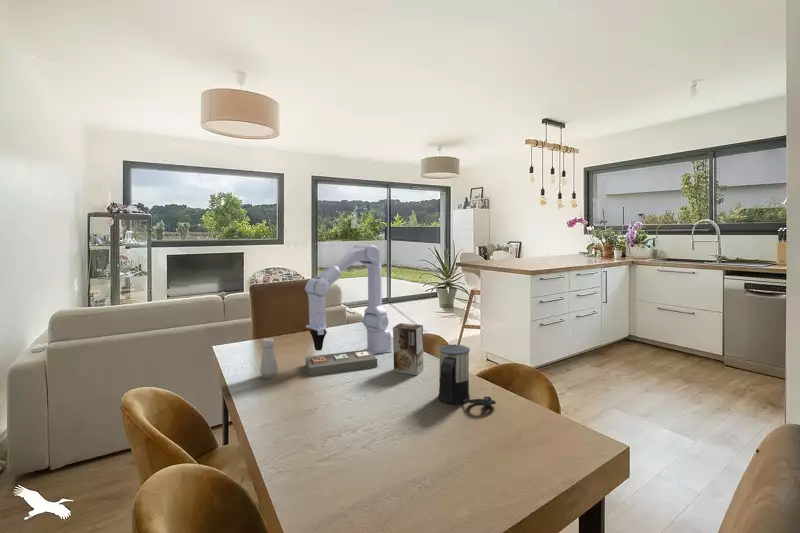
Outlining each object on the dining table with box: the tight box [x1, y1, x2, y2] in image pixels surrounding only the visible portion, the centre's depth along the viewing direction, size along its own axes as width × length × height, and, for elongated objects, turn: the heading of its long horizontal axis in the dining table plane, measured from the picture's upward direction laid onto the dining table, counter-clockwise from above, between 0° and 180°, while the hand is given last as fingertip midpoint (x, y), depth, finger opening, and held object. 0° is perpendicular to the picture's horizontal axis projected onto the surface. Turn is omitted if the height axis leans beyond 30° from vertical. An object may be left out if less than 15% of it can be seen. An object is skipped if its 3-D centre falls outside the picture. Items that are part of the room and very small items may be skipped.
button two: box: [334, 354, 348, 361], centre depth 141 cm, size 4×4×3 cm
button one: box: [355, 351, 370, 358], centre depth 144 cm, size 4×4×3 cm
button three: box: [312, 357, 326, 364], centre depth 139 cm, size 4×4×3 cm
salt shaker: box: [259, 337, 279, 380], centre depth 131 cm, size 6×6×13 cm
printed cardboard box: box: [392, 322, 424, 376], centre depth 135 cm, size 9×6×16 cm
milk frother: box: [438, 344, 497, 407], centre depth 110 cm, size 14×16×15 cm
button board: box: [305, 349, 378, 377], centre depth 141 cm, size 24×12×3 cm, turn 110°
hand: (318, 349), depth 138 cm, fingers closed
